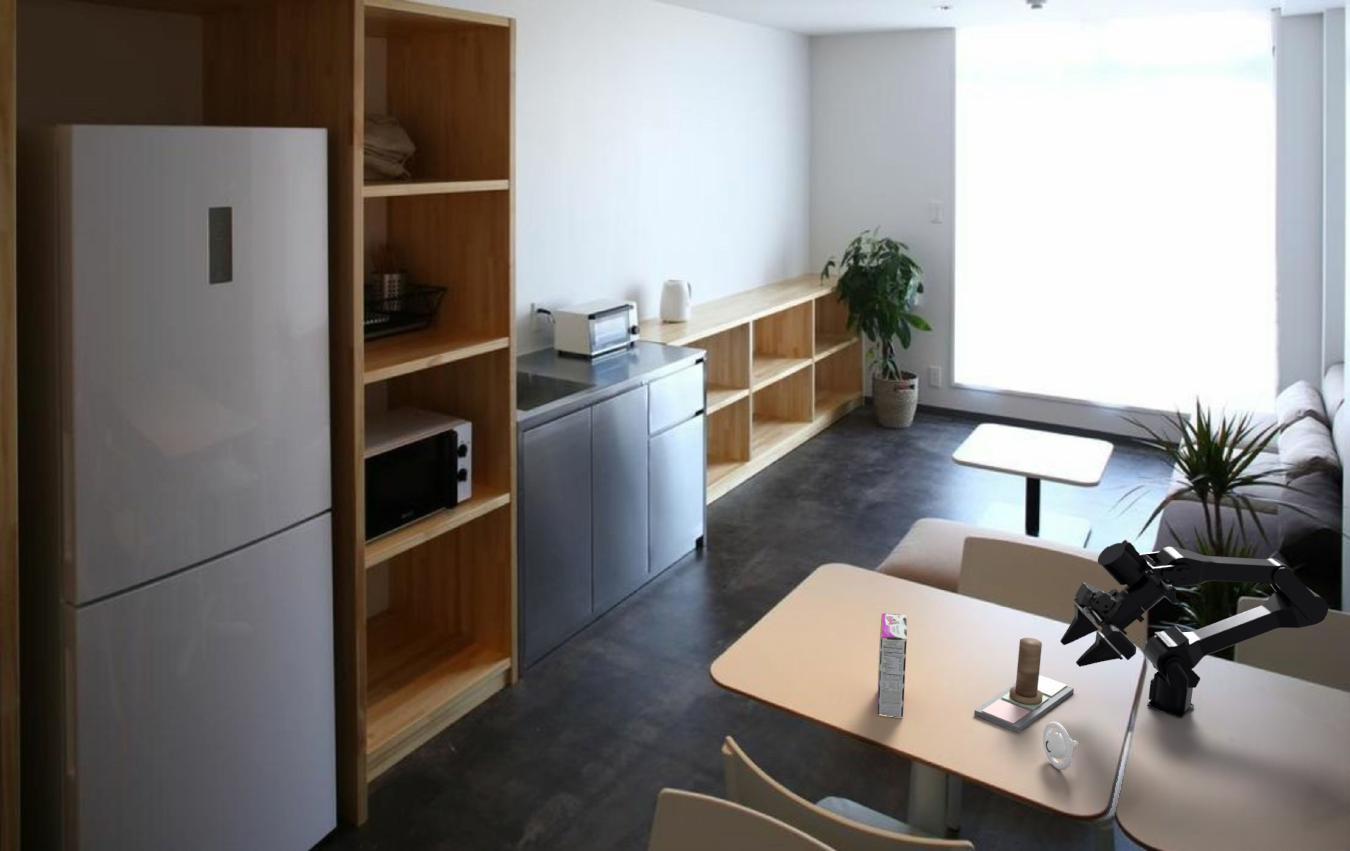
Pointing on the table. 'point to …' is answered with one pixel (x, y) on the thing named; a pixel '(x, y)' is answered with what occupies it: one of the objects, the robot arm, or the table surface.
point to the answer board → (1022, 715)
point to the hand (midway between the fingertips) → (1069, 653)
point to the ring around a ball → (1058, 745)
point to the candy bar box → (892, 664)
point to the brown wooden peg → (1028, 673)
